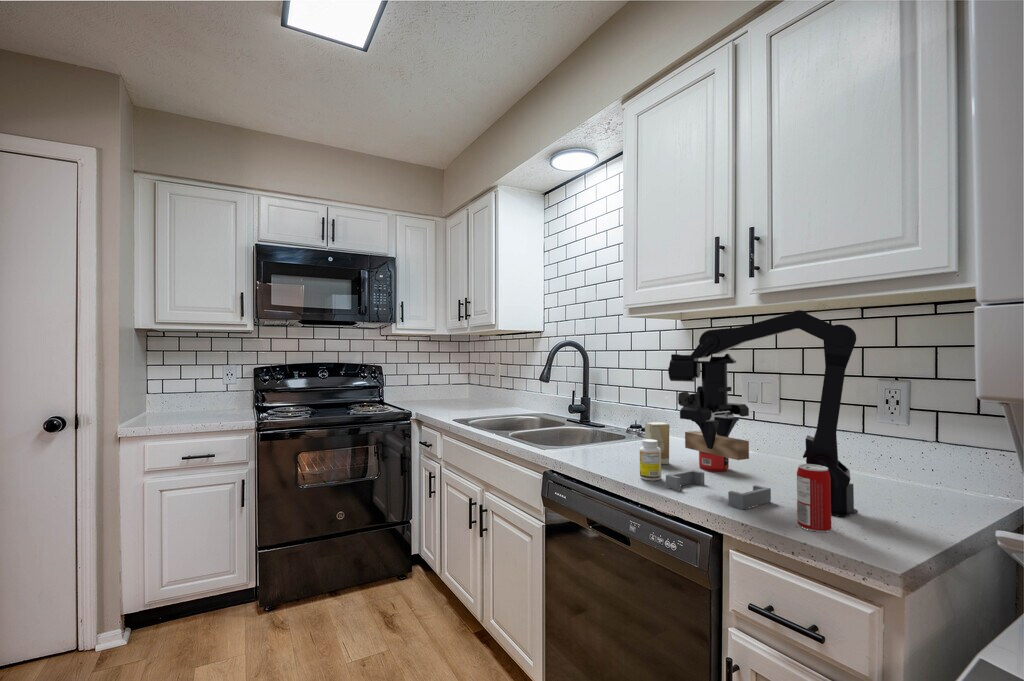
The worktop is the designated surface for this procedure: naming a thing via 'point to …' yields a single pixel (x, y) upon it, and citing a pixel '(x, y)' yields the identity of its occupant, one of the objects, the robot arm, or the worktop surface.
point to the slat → (718, 445)
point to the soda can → (814, 497)
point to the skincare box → (659, 438)
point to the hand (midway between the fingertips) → (715, 447)
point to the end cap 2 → (750, 497)
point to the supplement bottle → (650, 460)
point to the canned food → (713, 462)
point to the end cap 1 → (684, 479)
